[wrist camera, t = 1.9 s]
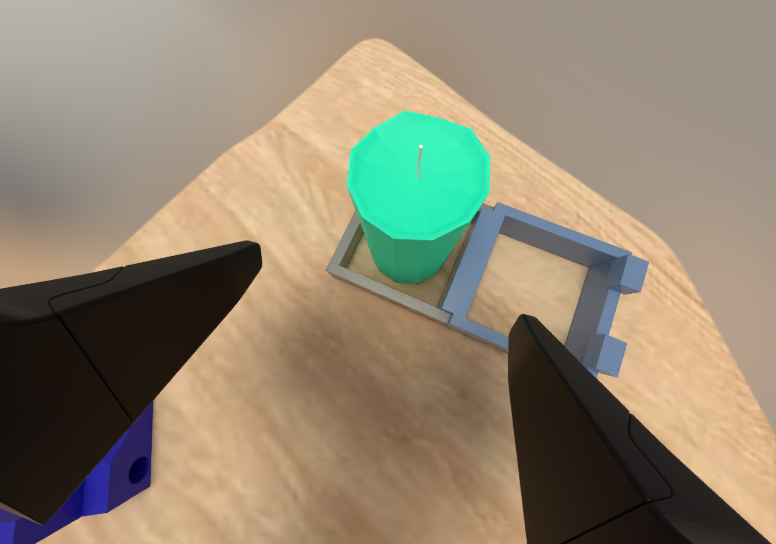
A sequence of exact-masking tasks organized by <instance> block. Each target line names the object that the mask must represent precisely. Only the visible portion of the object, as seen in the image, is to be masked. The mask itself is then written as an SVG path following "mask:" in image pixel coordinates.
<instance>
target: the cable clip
mask: <svg viewBox="0 0 776 544" xmlns="http://www.w3.org/2000/svg"><path fill="white" fill-rule="evenodd" d="M152 419H153V401H152V402H151V403H150V405H149V406H148V407H147V408H146V409H145V410H144V412H143V413H142V414H141V415H140V416H139V417H138V419H137V420H136V421H135V422H133V425H132V426H131V427H130V428H129V429H128V430H127V431H126V433H125V434H124V435H123V436H122V437H121V438H120V440H119V441H118V442H117V443H116V444H115V445H114V446H113V448H112V449H111V450H110V451H109V452H108V453H107V455H106V456H105V457H104V458H103V459H102V460H101V462H100V463H99V464H98V465H97V466H96V467H95V468H94V470H93V471H92V472H91V473H90V474H89V475H88V477H87V478H86V479H85V480H84V481H83V482H82V483H81V485H80V486H79V487H78V488H77V489H76V490H75V492H74V493H73V494H72V495H71V496H70V497H69V499H68V500H67V501H66V502H65V503H64V504H63V505H62V507H61V508H60V509H59V510H58V511H57V512H56V513H55V515H54V516H53V517H52V518H51V519H50V520H49V521H48V522H47V523H46V524H45V525H40V524H38V523H35V522H33V521H30V520H28V519H25V518H23V517H20V516H18V515H15V514H13V513H10V512H8V511H5V510H3V509H0V544H35V543H37V542H39V541H41V540H42V539H44V538H46V537H47V536H49V535H51V534H53V533H54V532H56V531H58V530H59V529H61V528H63V527H65V526H66V525H68V524H70V523H71V522H73V521H75V520H77V519H78V518H80V517H82V516H88V515H95V514H102V513H108V512H109V511H111V510H113V509H114V508H116V507H117V506H119V505H121V504H122V503H124V502H125V501H127V500H129V499H130V498H132V497H133V496H135V495H137V494H138V493H140V492H142V491H143V490H145V489H146V488H148V487H150V476H151V448H152Z"/></svg>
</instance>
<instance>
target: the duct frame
mask: <svg viewBox="0 0 776 544" xmlns="http://www.w3.org/2000/svg"><path fill="white" fill-rule="evenodd" d="M471 222H472V225H471V227H470V230H469V232H468V235H467V237H466V239H465V242H464V244H463V247H462V249H461V252H460V254H459V257H458V259H457V262H456V264H455V266H454V269H453V271H452V274H451V276H450V279H449V281H448V284H447V286H446V289H445V291H444V294H443V296H442V298H441V301H440V303H439V306H438V308H436V307H434V306H432V305H429V304H427V303H425V302H422V301H420V300H418V299H416V298H413V297H411V296H409V295H406V294H404V293H402V292H399V291H397V290H395V289H393V288H390V287H388V286H386V285H383V284H381V283H379V282H376V281H374V280H372V279H369V278H367V277H365V276H363V275H360V274H358V273H356V272H353V271H351V270H349V269H346V267H347V265H348V263H349V261H350V259H351V257H352V255H353V253H354V250H355V248H356V246H357V244H358V242H359V240H360V238H361V236H362V234H363V229H362V226H361V223H360V220H359V218H358V215H357V212H356V210H355V212H354V214H353V216H352V218H351V220H350V222H349V224H348V226H347V228H346V230H345V232H344V234H343V236H342V238H341V240H340V242H339V244H338V246H337V249H336V251H335V253H334V255H333V257H332V259H331V261H330V263H329V265H328V267H327V269H326V271H327V272H328V273H330V274H331V275H332V276H334V277H336V278H338V279H341V280H343V281H345V282H347V283H350V284H352V285H354V286H357V287H359V288H361V289H363V290H366V291H368V292H370V293H372V294H375V295H377V296H379V297H382V298H384V299H386V300H388V301H391V302H393V303H395V304H397V305H400V306H402V307H404V308H407V309H409V310H411V311H413V312H416V313H418V314H420V315H422V316H425V317H427V318H429V319H432V320H434V321H436V322H438V323H441V324H443V325H445V326H447V327H450V328H452V329H454V330H457V331H459V332H461V333H463V334H466V335H468V336H470V337H472V338H475V339H477V340H479V341H482V342H484V343H486V344H488V345H491V346H493V347H495V348H497V349H500V350H502V351H504V352H507V353H508V337H507V336H505V335H503V334H500V333H498V332H496V331H494V330H491V329H489V328H487V327H484V326H482V325H480V324H477V323H475V322H473V321H470V320H468V319H466V316H467V314H468V311H469V308H470V306H471V303H472V301H473V298H474V295H475V293H476V290H477V288H478V285H479V282H480V280H481V277H482V275H483V272H484V269H485V267H486V264H487V262H488V259H489V256H490V254H491V251H492V249H493V246H494V243H495V241H496V238H497V236H498V233H501V234H504V235H507V236H509V237H512V238H514V239H517V240H519V241H522V242H525V243H527V244H530V245H532V246H535V247H538V248H540V249H543V250H545V251H548V252H550V253H553V254H556V255H558V256H561V257H563V258H566V259H569V260H571V261H574V262H576V263H579V264H581V265H584V266H587V267H589V270H588V273H587V277H586V280H585V283H584V286H583V289H582V293H581V296H580V299H579V302H578V306H577V309H576V312H575V315H574V318H573V322H572V325H571V328H570V331H569V334H568V338H567V341H566V344H565V347H566V348H567V349H568V350H569V351H570V352H571V353H572V354H573V355H574V356H575V357H576V358H577V359H578V360H579V361H580V362H581V363H582V364H583V365H584V366H585V367H586V368H587V369H588V370H589V371H590V372H591V373H592V374H593V375H594V376H595V377H596V378H597V374H598V372H599V373H601V374H605V375H610V376H614V377H618V374H619V371H620V367H621V363H622V360H623V356H624V352H625V349H626V345H627V343H625V342H623V341H620V340H618V339H615V338H613V337H610V336H608V335H609V332H610V328H611V325H612V321H613V318H614V314H615V311H616V307H617V304H618V300H619V297H620V293H622V294H624V295H626V294H632V293H638V292H641V289H642V286H643V282H644V278H645V275H646V271H647V267H648V264H649V262H648V261H646V260H643V259H640V258H638V257H635V256H632V255H631V254H632V252H629V251H627V250H624V249H621V248H619V247H616V246H613V245H611V244H608V243H605V242H603V241H600V240H597V239H595V238H592V237H589V236H587V235H584V234H581V233H579V232H576V231H573V230H571V229H568V228H565V227H563V226H560V225H557V224H555V223H552V222H549V221H547V220H544V219H541V218H538V217H536V216H533V215H530V214H528V213H525V212H522V211H520V210H517V209H514V208H512V207H509V206H506V205H504V204H501V203H498V202H497V204H496V205H495V206H494V207H492V206H489V205H486V204H484V203H483V204H482V205H481V207H480V208H479V210H478V211H477V213H476V214H475V216H474V217H473V219H472V220H471Z"/></svg>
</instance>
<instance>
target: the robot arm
mask: <svg viewBox="0 0 776 544" xmlns="http://www.w3.org/2000/svg"><path fill="white" fill-rule="evenodd" d="M261 268H262V256H261V247H260V245H259V244H258V243H256V242H252V241H248V240H246V241H241V242H236V243H232V244H227V245H222V246H217V247H213V248H208V249H203V250H198V251H194V252H189V253H184V254H179V255H175V256H170V257H165V258H160V259H156V260H151V261H146V262H141V263H137V264H132V265H127V266H125V267H117V268H113V269H108V270H103V271H98V272H93V273H88V274H83V275H77V276H72V277H66V278H61V279H55V280H49V281H43V282H37V283H31V284H25V285H19V286H14V287H8V288H2V289H0V509H3V510H5V511H8V512H10V513H13V514H15V515H18V516H20V517H23V518H25V519H28V520H30V521H33V522H35V523H38V524H40V525H45V524H46V523H47V522H48V521H49V520H50V519H51V518H52V517H53V516H54V515H55V513H56V512H57V511H58V510H59V509H60V508H61V507H62V505H63V504H64V503H65V502H66V501H67V500H68V499H69V497H70V496H71V495H72V494H73V493H74V492H75V490H76V489H77V488H78V487H79V486H80V485H81V483H82V482H83V481H84V480H85V479H86V478H87V477H88V475H89V474H90V473H91V472H92V471H93V470H94V468H95V467H96V466H97V465H98V464H99V463H100V462H101V460H102V459H103V458H104V457H105V456H106V455H107V453H108V452H109V451H110V450H111V449H112V448H113V446H114V445H115V444H116V443H117V442H118V441H119V440H120V438H121V437H122V436H123V435H124V434H125V433H126V431H127V430H128V429H129V428H130V427H131V426H132V425H133V422H135V421H136V420H137V419H138V417H139V416H140V415H141V414H142V413H143V412H144V410H145V409H146V408H147V407H148V406H149V405H150V403H151V402H152V401H153V400H154V399H155V398H156V397H157V395H158V394H159V393H160V392H161V391H162V390H163V388H164V387H165V386H166V385H167V384H168V383H169V382H170V380H171V379H172V378H173V377H174V376H175V375H176V373H177V372H178V371H179V370H180V369H181V368H182V367H183V365H184V364H185V363H186V362H187V361H188V360H189V358H190V357H191V356H192V355H193V354H194V353H195V352H196V350H197V349H198V348H199V347H200V346H201V345H202V343H203V342H204V341H205V340H206V339H207V338H208V337H209V335H210V334H211V333H212V332H213V331H214V330H215V328H216V327H217V326H218V325H219V324H220V323H221V321H222V320H223V319H224V318H225V317H226V316H227V315H228V313H229V312H230V311H231V310H232V309H233V308H234V306H235V305H236V304H237V303H238V301H239V300H240V299H241V297H242V296H243V295H244V293H245V292H246V290H247V289H248V287H249V286H250V284H251V283H252V282H253V280H254V279H255V277H256V276H257V274H258V273H259V271H260V270H261ZM508 384H509V393H510V402H511V411H512V419H513V428H514V436H515V445H516V453H517V462H518V470H519V479H520V487H521V496H522V504H523V513H524V521H525V530H526V539H527V544H771V543H770V542H769V541H768V540H767V539H766V538H764V537H763V536H762V535H761V534H760V533H759V532H758V531H757V530H756V529H755V528H753V527H752V526H751V525H750V524H749V523H748V522H747V521H746V520H745V519H744V518H743V517H741V516H740V515H739V514H738V513H737V512H736V511H735V510H734V509H733V508H732V507H730V506H729V505H728V504H727V503H726V502H725V501H724V500H723V499H722V498H721V497H719V496H718V495H717V494H716V493H715V492H714V491H713V490H712V489H711V488H710V487H708V486H707V485H706V484H705V483H704V482H703V481H702V480H701V479H700V478H699V477H697V476H696V475H695V474H694V473H693V472H692V471H691V470H690V469H689V468H688V467H687V466H686V465H684V464H683V463H682V462H681V461H680V460H679V459H678V458H677V457H676V456H675V455H674V454H673V453H671V452H670V451H669V450H668V449H667V448H666V447H665V446H664V445H663V444H662V443H661V442H660V441H659V440H658V439H657V438H656V437H655V436H654V435H653V434H652V433H651V432H650V431H649V430H648V429H647V428H646V427H645V426H644V425H643V424H642V423H641V422H640V421H639V420H638V419H637V418H636V417H635V416H634V415H633V414H630V412H629V410H628V409H627V408H626V407H625V406H624V405H623V404H622V403H621V402H620V401H619V400H618V399H617V398H616V397H615V396H614V395H613V394H612V393H611V392H610V391H609V390H608V389H607V388H606V387H605V386H604V385H603V384H602V383H601V382H600V381H599V380H598V379H597V378H596V377H595V376H594V375H593V374H592V373H591V372H590V371H589V370H588V369H587V368H586V367H585V366H584V365H583V364H582V363H581V362H580V361H579V360H578V359H577V358H576V357H575V356H574V355H573V354H572V353H571V352H570V351H569V350H568V349H567V348H566V347H565V346H564V345H563V344H562V343H561V342H560V341H559V340H558V339H557V338H556V337H555V336H554V335H553V334H552V333H551V332H550V331H549V330H548V329H547V328H546V327H545V326H544V325H543V324H542V323H541V322H540V321H539V320H538V319H537V318H536V317H534V316H530V315H526V314H521V315H520V316H519V317H518V319H517V320H516V322H515V324H514V325H513V327H512V329H511V330H510V333H509V337H508Z"/></svg>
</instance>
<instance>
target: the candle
mask: <svg viewBox="0 0 776 544" xmlns="http://www.w3.org/2000/svg"><path fill="white" fill-rule="evenodd" d="M490 159H491V157H490V156H489V154H488V153H487V151H486V150H485V148H484V147H483V145H482V144H481V142H480V141H479V139H478V138H477V136H476V135H475V133H474V132H473V130H472V129H470V128H467V127H464V126H461V125H458V124H455V123H452V122H450V121H447V120H444V119H441V118H437V117H433V116H428V115H423V114H419V113H414V112H409V111H403V112H401V113H400V114H398V115H396V116H394V117H393V118H391V119H389V120H387V121H386V122H384V123H382V124H380V125H379V126H377V127H375V128H373V129H372V130H371V131H370V132H369V133H368V134H367V135H366V136H365V137H364V138H363V139H362V140H361V141H360V142H359V143H358V144H357V145H356V146H354V147H353V148H352V149H351V152H350V160H349V169H348V178H347V187H348V190H349V193H350V195H351V198H352V201H353V204H354V207H355V209H356V212H357V215H358V218H359V220H360V223H361V226H362V229H363V232H364V234H365V237H366V240H367V243H368V245H369V248H370V251H371V254H372V256H373V258H374V260H375V262H376V264H377V267H378V269H379V271H380V272H382V273H383V274H385V275H386V276H388V277H389V278H390V279H392V280H393V281H395V282H398V283H410V284H418V283H420V282H422V281H424V280H426V279H428V278H431V277H433V276H435V275H436V273H437V272H438V270H439V269H440V267H441V266H442V264H443V263H444V261H445V260H446V259H447V257H448V255H449V254H450V252H451V251H452V249H453V248H454V246H455V245H456V243H457V242H458V240H459V239H460V237H461V236H462V234H463V233H464V231H465V230H466V228H467V226H468V225H469V223H470V222H471V220H472V219H473V217H474V216H475V214H476V213H477V211H478V210H479V208H480V207H481V205H482V204H483V202H484V201H485V199H486V197H487V196H488V194H489V193H490Z"/></svg>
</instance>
